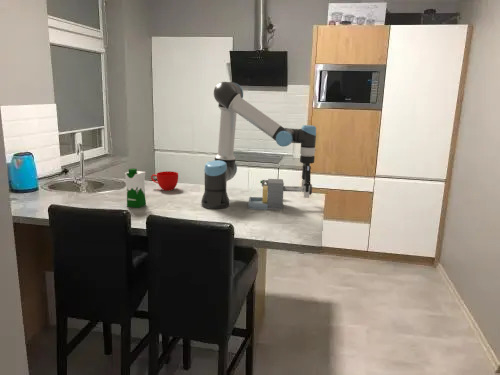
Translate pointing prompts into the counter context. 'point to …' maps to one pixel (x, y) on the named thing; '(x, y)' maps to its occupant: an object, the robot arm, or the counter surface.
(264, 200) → the brass ring
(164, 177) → the ceramic cup
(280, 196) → the bearing block
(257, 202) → the tray
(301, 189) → the shaft
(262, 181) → the mechanical component
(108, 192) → the counter surface
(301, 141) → the robot arm
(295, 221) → the counter surface
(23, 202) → the counter surface
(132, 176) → the milk carton
